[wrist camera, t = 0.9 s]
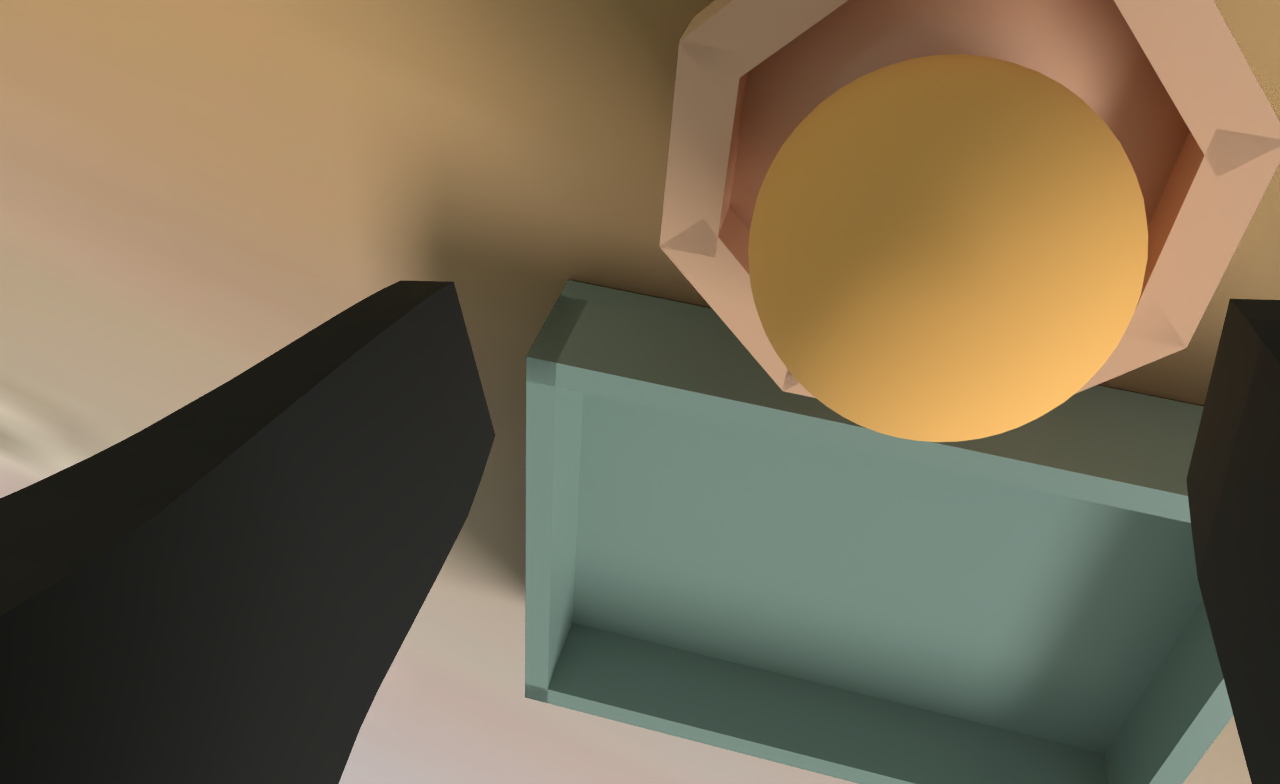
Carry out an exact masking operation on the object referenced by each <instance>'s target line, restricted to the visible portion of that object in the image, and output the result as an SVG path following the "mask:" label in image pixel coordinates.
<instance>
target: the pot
mask: <svg viewBox="0 0 1280 784" xmlns="http://www.w3.org/2000/svg"><path fill="white" fill-rule="evenodd" d="M950 54H965V55H976V56H987V57H991V58H995V59H1000V60H1004V61H1009V62H1012V63H1016V64H1018V65H1021V66H1024V67H1026V68H1029V69H1032V70H1035V71H1037V72H1040V73H1042V74H1043V75H1045V76H1047V77H1049V78H1051V79H1053V80H1055V81H1057V82H1058V83H1060V84H1062V85H1063V86H1065V87H1066V88H1068V89H1069V90H1070V91H1072V92H1073V93H1074V94H1076V95H1077V96H1078V97H1080V98H1081V99H1082V100H1083V101H1084V102H1085V103H1086V104H1087V105H1088V106H1089V107H1090V108H1091V109H1092V110H1093V111H1094V112H1095V113H1096V114H1097V115H1098V116H1099V117H1100V118H1101V119H1102V120H1103V121H1104V122H1105V123H1106V124H1107V125H1108V127H1109V128H1110V130H1111V131H1112V132H1113V134H1114V135H1115V136H1116V138H1117V139H1118V140H1119V142H1120V143H1121V145H1122V147H1123V149H1124V151H1125V153H1126V155H1127V157H1128V159H1129V161H1130V163H1131V165H1132V167H1133V169H1134V172H1135V174H1136V176H1137V180H1138V183H1139V186H1140V189H1141V192H1142V195H1143V198H1144V205H1145V212H1146V219H1147V228H1148V259H1147V264H1146V270H1145V275H1144V280H1143V286H1142V291H1141V295H1140V298H1139V301H1138V303H1137V306H1136V309H1135V312H1134V315H1133V317H1132V319H1131V321H1130V323H1129V325H1128V327H1127V329H1126V331H1125V333H1124V335H1123V336H1122V338H1121V340H1120V342H1119V344H1118V346H1117V347H1116V349H1115V350H1114V351H1113V353H1112V354H1111V355H1110V357H1109V358H1108V359H1107V361H1106V362H1105V364H1104V365H1103V366H1102V367H1101V368H1100V369H1099V370H1098V371H1097V373H1096V374H1095V375H1094V376H1093V377H1092V378H1091V379H1090V380H1089V381H1088V382H1087V383H1086V384H1085V385H1084V386H1083V387H1082V388H1081V389H1080V390H1079V391H1078V392H1076V393H1079V392H1081V391H1083V390H1086V389H1088V388H1091V387H1093V386H1096V385H1098V384H1100V383H1103V382H1105V381H1108V380H1110V379H1112V378H1115V377H1117V376H1120V375H1122V374H1125V373H1127V372H1129V371H1132V370H1134V369H1137V368H1139V367H1141V366H1144V365H1146V364H1149V363H1151V362H1154V361H1156V360H1158V359H1161V358H1163V357H1166V356H1168V355H1171V354H1173V353H1175V352H1178V351H1180V350H1183V349H1185V348H1187V346H1188V344H1189V342H1190V340H1191V338H1192V336H1193V334H1194V332H1195V330H1196V328H1197V326H1198V324H1199V322H1200V320H1201V318H1202V316H1203V314H1204V312H1205V310H1206V308H1207V306H1208V304H1209V302H1210V300H1211V298H1212V296H1213V294H1214V292H1215V290H1216V288H1217V286H1218V284H1219V282H1220V280H1221V278H1222V276H1223V274H1224V272H1225V270H1226V268H1227V266H1228V264H1229V262H1230V260H1231V258H1232V256H1233V254H1234V252H1235V250H1236V248H1237V246H1238V244H1239V242H1240V240H1241V238H1242V236H1243V234H1244V232H1245V230H1246V229H1247V227H1248V225H1249V223H1250V221H1251V219H1252V217H1253V215H1254V213H1255V211H1256V209H1257V207H1258V205H1259V203H1260V201H1261V199H1262V197H1263V195H1264V193H1265V191H1266V189H1267V187H1268V185H1269V183H1270V181H1271V179H1272V177H1273V175H1274V173H1275V171H1276V169H1277V167H1278V165H1279V163H1280V120H1279V118H1278V117H1277V115H1276V113H1275V111H1274V109H1273V108H1272V106H1271V104H1270V102H1269V100H1268V98H1267V97H1266V95H1265V93H1264V91H1263V89H1262V87H1261V86H1260V84H1259V82H1258V80H1257V78H1256V76H1255V75H1254V73H1253V71H1252V69H1251V67H1250V65H1249V64H1248V62H1247V60H1246V58H1245V56H1244V54H1243V53H1242V51H1241V49H1240V47H1239V45H1238V43H1237V42H1236V40H1235V38H1234V36H1233V34H1232V32H1231V31H1230V29H1229V27H1228V25H1227V23H1226V21H1225V20H1224V18H1223V16H1222V14H1221V12H1220V10H1219V8H1218V7H1217V5H1216V3H1215V1H1214V0H715V1H713V2H712V3H711V4H710V5H708V6H707V7H706V8H704V9H703V10H702V11H701V12H699V13H698V14H697V15H695V16H694V17H693V19H692V20H691V22H690V24H689V25H688V27H687V29H686V30H685V32H684V34H683V35H682V37H681V39H680V40H679V48H678V58H677V69H676V79H675V89H674V100H673V110H672V121H671V131H670V141H669V152H668V162H667V173H666V183H665V193H664V204H663V214H662V225H661V235H660V245H659V247H660V248H661V249H662V250H663V251H664V253H665V254H666V255H667V256H668V257H669V258H670V260H671V261H672V262H673V263H674V264H675V265H676V267H677V268H678V269H679V270H680V271H681V272H682V274H683V275H684V276H685V277H686V278H687V280H688V281H689V282H690V283H691V284H692V285H693V287H694V288H695V289H696V290H697V291H698V292H699V294H700V295H701V296H702V297H703V298H704V299H705V301H706V302H707V303H708V304H709V305H710V306H711V308H712V309H713V310H714V311H715V312H716V314H717V315H718V316H719V317H720V318H721V319H722V321H723V322H724V323H725V324H726V325H727V326H728V328H729V329H730V330H731V331H732V332H733V333H734V335H735V336H736V337H737V338H738V339H739V340H740V342H741V343H742V344H743V345H744V346H745V348H746V349H747V350H748V351H749V352H750V353H751V355H752V356H753V357H754V358H755V359H756V360H757V362H758V363H759V364H760V365H761V366H762V367H763V369H764V370H765V371H766V372H767V373H768V374H769V376H770V377H771V378H772V379H773V380H774V382H775V383H776V384H777V385H778V386H779V387H780V389H781V390H782V391H784V392H789V393H794V394H799V395H803V396H808V397H813V398H816V397H814V396H813V395H812V394H811V393H809V392H808V391H807V390H806V389H805V388H804V387H803V386H802V385H801V384H800V383H799V382H798V381H797V380H796V379H795V378H794V377H793V376H792V374H791V373H790V371H789V370H788V369H787V367H786V366H785V365H784V363H783V362H782V361H781V359H780V358H779V356H778V355H777V353H776V352H775V350H774V348H773V347H772V345H771V343H770V341H769V339H768V338H767V336H766V334H765V331H764V329H763V326H762V323H761V321H760V318H759V315H758V312H757V309H756V307H755V303H754V299H753V294H752V290H751V285H750V272H749V257H748V246H749V234H750V227H751V221H752V217H753V212H754V208H755V204H756V200H757V196H758V194H759V191H760V188H761V186H762V183H763V181H764V178H765V176H766V174H767V172H768V170H769V168H770V166H771V164H772V162H773V161H774V159H775V157H776V155H777V154H778V152H779V150H780V148H781V147H782V145H783V144H784V143H785V141H786V140H787V139H788V137H789V136H790V135H791V134H792V132H793V131H794V130H795V128H796V127H797V126H798V125H799V124H800V123H801V122H802V121H803V120H804V119H805V118H806V117H807V116H808V115H809V114H810V113H811V112H812V111H813V110H814V109H815V108H816V107H817V106H818V105H819V104H820V103H822V102H823V101H824V100H826V99H827V98H828V97H830V96H831V95H832V94H833V93H835V92H836V91H837V90H839V89H840V88H842V87H844V86H846V85H847V84H849V83H851V82H853V81H854V80H856V79H858V78H860V77H862V76H864V75H866V74H869V73H871V72H873V71H876V70H878V69H881V68H883V67H885V66H888V65H892V64H895V63H899V62H902V61H906V60H909V59H913V58H920V57H926V56H933V55H950ZM1076 393H1075V394H1076Z"/></svg>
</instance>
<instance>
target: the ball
mask: <svg viewBox="0 0 1280 784" xmlns="http://www.w3.org/2000/svg"><path fill="white" fill-rule="evenodd" d="M748 257H749V272H750V285H751V290H752V294H753V299H754V303H755V307H756V309H757V312H758V315H759V318H760V321H761V323H762V326H763V329H764V331H765V334H766V336H767V338H768V339H769V341H770V343H771V345H772V347H773V348H774V350H775V352H776V353H777V355H778V356H779V358H780V359H781V361H782V362H783V363H784V365H785V366H786V367H787V369H788V370H789V371H790V373H791V374H792V376H793V377H794V378H795V379H796V380H797V381H798V382H799V383H800V384H801V385H802V386H803V387H804V388H805V389H806V390H807V391H808V392H809V393H811V394H812V395H813V396H814V397H816V398H817V399H818V400H819V401H820V402H822V403H823V404H824V405H826V406H827V407H829V408H830V409H832V410H833V411H835V412H836V413H838V414H839V415H841V416H842V417H844V418H846V419H848V420H850V421H852V422H854V423H856V424H858V425H860V426H863V427H865V428H868V429H871V430H873V431H876V432H879V433H882V434H886V435H890V436H894V437H897V438H903V439H909V440H916V441H928V442H958V441H966V440H974V439H980V438H985V437H989V436H993V435H997V434H1001V433H1004V432H1007V431H1009V430H1012V429H1015V428H1018V427H1020V426H1022V425H1025V424H1027V423H1029V422H1031V421H1033V420H1035V419H1037V418H1039V417H1041V416H1043V415H1044V414H1046V413H1048V412H1049V411H1051V410H1053V409H1054V408H1056V407H1057V406H1059V405H1061V404H1062V403H1064V402H1065V401H1066V400H1068V399H1069V398H1070V397H1071V396H1073V395H1074V394H1075V393H1076V392H1078V391H1079V390H1080V389H1081V388H1082V387H1083V386H1084V385H1085V384H1086V383H1087V382H1088V381H1089V380H1090V379H1091V378H1092V377H1093V376H1094V375H1095V374H1096V373H1097V371H1098V370H1099V369H1100V368H1101V367H1102V366H1103V365H1104V364H1105V362H1106V361H1107V359H1108V358H1109V357H1110V355H1111V354H1112V353H1113V351H1114V350H1115V349H1116V347H1117V346H1118V344H1119V342H1120V340H1121V338H1122V336H1123V335H1124V333H1125V331H1126V329H1127V327H1128V325H1129V323H1130V321H1131V319H1132V317H1133V315H1134V312H1135V309H1136V306H1137V303H1138V301H1139V298H1140V295H1141V291H1142V286H1143V280H1144V275H1145V270H1146V264H1147V259H1148V228H1147V219H1146V212H1145V205H1144V198H1143V195H1142V192H1141V189H1140V186H1139V183H1138V180H1137V176H1136V174H1135V172H1134V169H1133V167H1132V165H1131V163H1130V161H1129V159H1128V157H1127V155H1126V153H1125V151H1124V149H1123V147H1122V145H1121V143H1120V142H1119V140H1118V139H1117V138H1116V136H1115V135H1114V134H1113V132H1112V131H1111V130H1110V128H1109V127H1108V125H1107V124H1106V123H1105V122H1104V121H1103V120H1102V119H1101V118H1100V117H1099V116H1098V115H1097V114H1096V113H1095V112H1094V111H1093V110H1092V109H1091V108H1090V107H1089V106H1088V105H1087V104H1086V103H1085V102H1084V101H1083V100H1082V99H1081V98H1080V97H1078V96H1077V95H1076V94H1074V93H1073V92H1072V91H1070V90H1069V89H1068V88H1066V87H1065V86H1063V85H1062V84H1060V83H1058V82H1057V81H1055V80H1053V79H1051V78H1049V77H1047V76H1045V75H1043V74H1042V73H1040V72H1037V71H1035V70H1032V69H1029V68H1026V67H1024V66H1021V65H1018V64H1016V63H1012V62H1009V61H1004V60H1000V59H995V58H991V57H987V56H976V55H965V54H950V55H933V56H926V57H920V58H913V59H909V60H906V61H902V62H899V63H895V64H892V65H888V66H885V67H883V68H881V69H878V70H876V71H873V72H871V73H869V74H866V75H864V76H862V77H860V78H858V79H856V80H854V81H853V82H851V83H849V84H847V85H846V86H844V87H842V88H840V89H839V90H837V91H836V92H835V93H833V94H832V95H831V96H830V97H828V98H827V99H826V100H824V101H823V102H822V103H820V104H819V105H818V106H817V107H816V108H815V109H814V110H813V111H812V112H811V113H810V114H809V115H808V116H807V117H806V118H805V119H804V120H803V121H802V122H801V123H800V124H799V125H798V126H797V127H796V128H795V130H794V131H793V132H792V134H791V135H790V136H789V137H788V139H787V140H786V141H785V143H784V144H783V145H782V147H781V148H780V150H779V152H778V154H777V155H776V157H775V159H774V161H773V162H772V164H771V166H770V168H769V170H768V172H767V174H766V176H765V178H764V181H763V183H762V186H761V188H760V191H759V194H758V196H757V200H756V204H755V208H754V212H753V217H752V221H751V227H750V234H749V246H748Z"/></svg>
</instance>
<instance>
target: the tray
mask: <svg viewBox="0 0 1280 784" xmlns="http://www.w3.org/2000/svg"><path fill="white" fill-rule="evenodd" d="M1203 409H1204V406H1199V405H1194V404H1189V403H1184V402H1179V401H1174V400H1169V399H1164V398H1159V397H1154V396H1149V395H1144V394H1139V393H1134V392H1129V391H1124V390H1119V389H1114V388H1109V387H1104V386H1099V385H1096V386H1093V387H1091V388H1088V389H1086V390H1083V391H1081V392H1079V393H1076V394H1074V395H1073V396H1071V397H1070V398H1069V399H1068V400H1066V401H1065V402H1064V403H1062V404H1061V405H1059V406H1057V407H1056V408H1054V409H1053V410H1051V411H1049V412H1048V413H1046V414H1044V415H1043V416H1041V417H1039V418H1037V419H1035V420H1033V421H1031V422H1029V423H1027V424H1025V425H1022V426H1020V427H1018V428H1015V429H1012V430H1009V431H1007V432H1004V433H1001V434H997V435H993V436H989V437H985V438H980V439H974V440H966V441H958V442H928V441H916V440H909V439H903V438H897V437H894V436H890V435H886V434H882V433H879V432H876V431H873V430H871V429H868V428H865V427H863V426H860V425H858V424H856V423H854V422H852V421H850V420H848V419H846V418H844V417H842V416H841V415H839V414H838V413H836V412H835V411H833V410H832V409H830V408H829V407H827V406H826V405H824V404H823V403H822V402H820V401H819V400H818V399H817V398H813V397H808V396H803V395H799V394H794V393H789V392H784V391H782V390H781V389H780V387H779V386H778V385H777V384H776V383H775V382H774V380H773V379H772V378H771V377H770V376H769V374H768V373H767V372H766V371H765V370H764V369H763V367H762V366H761V365H760V364H759V363H758V362H757V360H756V359H755V358H754V357H753V356H752V355H751V353H750V352H749V351H748V350H747V349H746V348H745V346H744V345H743V344H742V343H741V342H740V340H739V339H738V338H737V337H736V336H735V335H734V333H733V332H732V331H731V330H730V329H729V328H728V326H727V325H726V324H725V323H724V322H723V321H722V319H721V318H720V317H719V316H718V315H717V314H716V312H715V311H714V310H713V309H712V308H707V307H702V306H697V305H692V304H687V303H682V302H676V301H671V300H666V299H661V298H656V297H651V296H646V295H641V294H636V293H631V292H626V291H621V290H616V289H611V288H606V287H601V286H596V285H591V284H586V283H581V282H576V281H571V280H568V282H567V284H566V285H565V287H564V289H563V291H562V293H561V294H560V296H559V298H558V300H557V302H556V304H555V305H554V307H553V309H552V311H551V313H550V314H549V316H548V318H547V320H546V322H545V323H544V325H543V327H542V329H541V331H540V333H539V334H538V336H537V338H536V340H535V342H534V343H533V345H532V347H531V349H530V351H529V352H528V354H527V356H526V597H525V697H526V698H530V699H534V700H538V701H541V702H545V703H549V704H553V705H557V706H561V707H565V708H569V709H572V710H576V711H580V712H584V713H588V714H592V715H596V716H599V717H603V718H607V719H611V720H615V721H619V722H623V723H627V724H630V725H634V726H638V727H642V728H646V729H650V730H654V731H658V732H661V733H665V734H669V735H673V736H677V737H681V738H685V739H689V740H692V741H696V742H700V743H704V744H708V745H712V746H716V747H719V748H723V749H727V750H731V751H735V752H739V753H743V754H747V755H750V756H754V757H758V758H762V759H766V760H770V761H774V762H778V763H781V764H785V765H789V766H793V767H797V768H801V769H805V770H808V771H812V772H816V773H820V774H824V775H828V776H832V777H836V778H839V779H843V780H847V781H851V782H855V783H859V784H1183V782H1184V781H1185V780H1186V778H1187V777H1188V776H1189V774H1190V773H1191V771H1192V770H1193V769H1194V767H1195V766H1196V765H1197V763H1198V762H1199V761H1200V759H1201V758H1202V757H1203V755H1204V754H1205V753H1206V751H1207V750H1208V749H1209V747H1210V746H1211V744H1212V743H1213V742H1214V740H1215V739H1216V738H1217V736H1218V735H1219V734H1220V732H1221V731H1222V730H1223V728H1224V727H1225V726H1226V724H1227V723H1228V722H1229V720H1230V719H1231V718H1232V716H1233V711H1232V708H1231V704H1230V700H1229V696H1228V693H1227V689H1226V685H1225V682H1224V678H1223V674H1222V670H1221V667H1220V663H1219V659H1218V655H1217V652H1216V648H1215V644H1214V640H1213V636H1212V632H1211V629H1210V625H1209V621H1208V617H1207V613H1206V609H1205V606H1204V602H1203V598H1202V594H1201V590H1200V586H1199V582H1198V577H1197V569H1196V561H1195V553H1194V546H1193V538H1192V529H1191V519H1190V510H1189V500H1188V491H1187V481H1186V479H1187V475H1188V471H1189V466H1190V462H1191V458H1192V454H1193V450H1194V446H1195V442H1196V438H1197V433H1198V429H1199V425H1200V421H1201V417H1202V413H1203Z"/></svg>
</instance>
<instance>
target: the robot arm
mask: <svg viewBox="0 0 1280 784" xmlns="http://www.w3.org/2000/svg"><path fill="white" fill-rule="evenodd" d="M494 437H495V433H494V430H493V426H492V422H491V418H490V415H489V411H488V407H487V404H486V400H485V396H484V392H483V389H482V385H481V381H480V378H479V374H478V370H477V367H476V363H475V359H474V355H473V352H472V348H471V344H470V341H469V337H468V333H467V330H466V326H465V322H464V318H463V315H462V311H461V307H460V304H459V300H458V296H457V293H456V289H455V285H454V282H435V281H399V282H397V283H395V284H393V285H391V286H388V287H386V288H384V289H382V290H380V291H378V292H376V293H375V294H373V295H371V296H369V297H367V298H365V299H364V300H362V301H360V302H358V303H357V304H355V305H353V306H351V307H350V308H348V309H346V310H345V311H343V312H341V313H340V314H338V315H336V316H335V317H333V318H331V319H330V320H328V321H326V322H325V323H323V324H321V325H320V326H318V327H317V328H315V329H313V330H312V331H310V332H308V333H307V334H305V335H304V336H302V337H300V338H299V339H297V340H295V341H294V342H292V343H290V344H289V345H287V346H286V347H284V348H282V349H281V350H279V351H277V352H276V353H274V354H273V355H271V356H269V357H268V358H266V359H264V360H263V361H261V362H259V363H258V364H256V365H255V366H253V367H251V368H250V369H248V370H246V371H245V372H243V373H241V374H240V375H238V376H237V377H235V378H233V379H232V380H230V381H228V382H226V383H225V384H223V385H221V386H219V387H218V388H216V389H214V390H212V391H211V392H209V393H207V394H205V395H204V396H202V397H200V398H198V399H197V400H195V401H193V402H191V403H189V404H188V405H186V406H184V407H182V408H181V409H179V410H177V411H175V412H174V413H172V414H170V415H168V416H167V417H165V418H163V419H161V420H160V421H158V422H156V423H154V424H153V425H151V426H149V427H147V428H145V429H144V430H142V431H140V432H138V433H136V434H134V435H133V436H131V437H129V438H127V439H125V440H123V441H121V442H119V443H117V444H115V445H113V446H111V447H109V448H107V449H105V450H103V451H101V452H100V453H98V454H96V455H94V456H92V457H90V458H88V459H86V460H83V461H81V462H79V463H77V464H75V465H73V466H71V467H69V468H66V469H64V470H62V471H60V472H58V473H56V474H54V475H52V476H49V477H47V478H45V479H43V480H41V481H39V482H37V483H35V484H32V485H30V486H28V487H26V488H23V489H21V490H19V491H17V492H14V493H12V494H10V495H7V496H5V497H3V498H0V784H338V783H339V781H340V778H341V776H342V773H343V770H344V768H345V765H346V763H347V760H348V758H349V755H350V753H351V750H352V747H353V745H354V742H355V740H356V737H357V735H358V732H359V730H360V727H361V725H362V723H363V721H364V719H365V717H366V715H367V712H368V710H369V708H370V706H371V704H372V702H373V700H374V697H375V695H376V693H377V691H378V689H379V687H380V685H381V683H382V681H383V679H384V677H385V675H386V674H387V672H388V670H389V668H390V666H391V664H392V662H393V660H394V658H395V656H396V654H397V652H398V651H399V649H400V647H401V645H402V643H403V641H404V639H405V637H406V635H407V633H408V631H409V629H410V628H411V626H412V624H413V622H414V620H415V618H416V616H417V614H418V612H419V610H420V608H421V607H422V605H423V603H424V601H425V599H426V597H427V595H428V593H429V591H430V589H431V587H432V585H433V584H434V582H435V580H436V578H437V576H438V574H439V572H440V570H441V568H442V566H443V564H444V562H445V560H446V558H447V556H448V554H449V552H450V550H451V548H452V546H453V544H454V542H455V540H456V539H457V537H458V535H459V533H460V530H461V528H462V526H463V524H464V522H465V520H466V518H467V516H468V514H469V511H470V508H471V505H472V503H473V500H474V497H475V494H476V492H477V489H478V486H479V483H480V481H481V478H482V475H483V471H484V468H485V465H486V462H487V459H488V456H489V453H490V450H491V447H492V443H493V440H494ZM1186 481H1187V491H1188V500H1189V510H1190V519H1191V529H1192V538H1193V546H1194V553H1195V561H1196V569H1197V577H1198V582H1199V586H1200V590H1201V594H1202V598H1203V602H1204V606H1205V609H1206V613H1207V617H1208V621H1209V625H1210V629H1211V632H1212V636H1213V640H1214V644H1215V648H1216V652H1217V655H1218V659H1219V663H1220V667H1221V670H1222V674H1223V678H1224V682H1225V685H1226V689H1227V693H1228V696H1229V700H1230V704H1231V708H1232V711H1233V715H1234V719H1235V722H1236V726H1237V730H1238V734H1239V737H1240V741H1241V745H1242V748H1243V752H1244V756H1245V760H1246V763H1247V767H1248V771H1249V775H1250V778H1251V782H1252V784H1280V300H1252V299H1230V301H1229V305H1228V310H1227V314H1226V318H1225V322H1224V326H1223V330H1222V334H1221V338H1220V343H1219V347H1218V351H1217V355H1216V359H1215V363H1214V367H1213V371H1212V376H1211V380H1210V384H1209V388H1208V392H1207V396H1206V400H1205V404H1204V409H1203V413H1202V417H1201V421H1200V425H1199V429H1198V433H1197V438H1196V442H1195V446H1194V450H1193V454H1192V458H1191V462H1190V466H1189V471H1188V475H1187V479H1186Z"/></svg>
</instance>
